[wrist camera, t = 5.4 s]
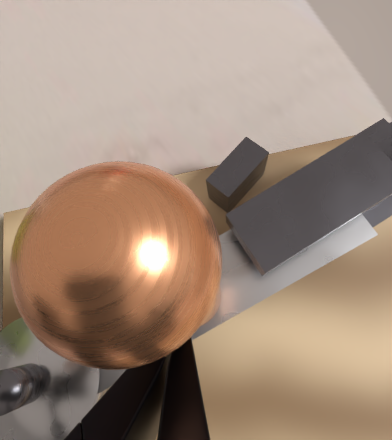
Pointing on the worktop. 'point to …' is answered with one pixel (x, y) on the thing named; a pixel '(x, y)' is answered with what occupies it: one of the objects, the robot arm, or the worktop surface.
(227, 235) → the latch lever
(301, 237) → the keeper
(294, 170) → the board
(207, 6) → the worktop surface
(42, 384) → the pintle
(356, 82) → the worktop surface
